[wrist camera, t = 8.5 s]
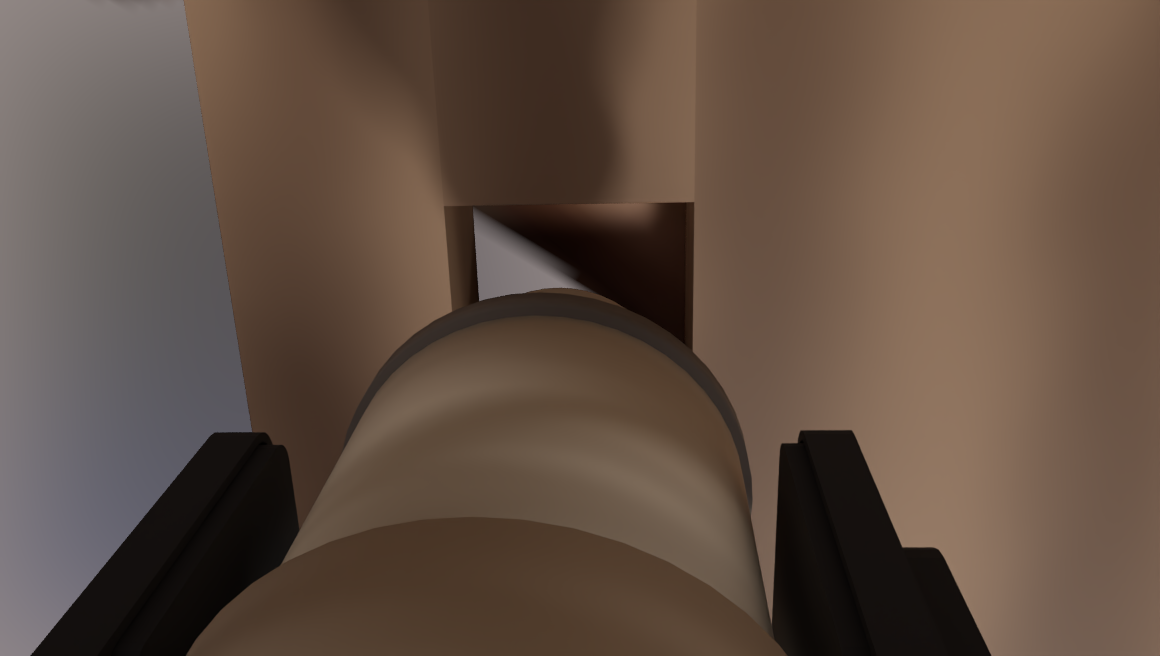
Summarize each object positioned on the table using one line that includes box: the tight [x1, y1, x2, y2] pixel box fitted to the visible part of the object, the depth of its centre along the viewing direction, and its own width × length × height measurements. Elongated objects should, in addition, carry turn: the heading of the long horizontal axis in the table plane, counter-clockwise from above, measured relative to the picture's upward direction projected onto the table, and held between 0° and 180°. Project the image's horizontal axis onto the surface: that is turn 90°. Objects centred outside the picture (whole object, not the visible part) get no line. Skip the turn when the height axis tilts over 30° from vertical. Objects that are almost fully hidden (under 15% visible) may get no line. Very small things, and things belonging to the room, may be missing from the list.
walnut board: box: [184, 0, 1160, 656], centre depth 20 cm, size 24×18×3 cm
